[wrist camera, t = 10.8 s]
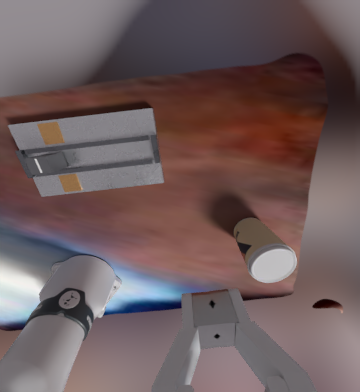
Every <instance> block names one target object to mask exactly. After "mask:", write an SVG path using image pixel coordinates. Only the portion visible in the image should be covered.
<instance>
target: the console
mask: <svg viewBox="0 0 360 392" xmlns="http://www.w3.org/2000/svg"><path fill="white" fill-rule="evenodd" d="M8 127H9V129H10V131H11V133H12V135H13V138H14V140H15V142H16V144H17V146H18V148H19V150H18V151H15V152H16V154H17V156H18V158H19V160H20V162H21V164H22V167H23V169H24V171H25V173H26V175H27V177H28V178H33V179H34V182H35V184H36V186H37V188H38V190H39V192H40V194H41V196H42V197H43V196H52V195H61V194H70V193H78V192H87V191H96V190H105V189H113V188H122V187H131V186H140V185H148V184H157V183H164V174H163V168H162V161H161V155H160V148H159V141H158V135H157V128H156V122H155V115H154V109H153V108H147V109H139V110H130V111H122V112H114V113H105V114H97V115H88V116H80V117H72V118H63V119H55V120H46V121H38V122H29V123H21V124H13V125H8ZM60 152H62V153H63V156H64V158H65V161H66V164H67V166H68V167H66V168H63V169H61V170H58V171H56V172H53V173H46V174H37V175H32V174H31V172H30V170H29V168H28V166H27V163H26V161H25V158H30V157H34V156H39V155H43V154H51V153H60Z"/></svg>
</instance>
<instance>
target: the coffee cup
mask: <svg viewBox="0 0 360 392" xmlns="http://www.w3.org/2000/svg"><path fill="white" fill-rule="evenodd" d="M234 237H235V239H236V242H237V244H238V246H239V249H240V251H241V254H242V256H243V258H244V260H245V263H246V265H247V268H248V271H249V273H250V275H251V276H252V277H254V278H255V279H256V280H258V281H260V282H264V283H273V282H277V281H280V280H282V279H284V278H286V277H288V276H289V275H290V274H291V273H292V272H293V271H294V269H295V267H296V264H297V258H296V255H295V252H294V251H293V250H292V249H291V248H290V247H289V246H287V245H286V244H285V243H284V242H283V241H282V240H281V239H280V238H279V237H278V236H277V235H275V234H274V233H273V232H272V231H271V230H270V229H269V228H268V227H267V226H266V225H265V224H263V223H262V222H261V221H260V220H258V219H256V218H245V219H243V220H241V221H240V222H238V223H237V225H236V226H235V228H234Z"/></svg>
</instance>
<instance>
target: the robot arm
mask: <svg viewBox="0 0 360 392" xmlns="http://www.w3.org/2000/svg"><path fill="white" fill-rule="evenodd" d="M51 272H52V276H51V278H50V279H49V280H48V282H47V283H46V285H45V286H44V287H43V289H42V290H41V292H40V294H39V296H40V301H41V303H40V304H39V305H38V306H37V308H36V309H34V311H33V312H32V313H31V315H30V317H29V319H28V320H27V322H26V326H25V328H24V329H23V331H22V332H21V333H20V335H19V336H18V337H17V339H16V340H15V341H14V343H13V344H12V346H11V347H10V348H9V350H8V351H7V352H6V354H5V355H4V356H3V358H2V359H1V361H0V392H64V388H65V385H66V382H67V379H68V377H69V374H70V371H71V369H72V366H73V363H74V360H75V358H76V356H77V353H78V351H79V348H80V346H81V343H82V341H84V339H85V338H86V337H87V334H88V333H89V331H90V329H91V325H92V323H93V320H94V319H95V318H96V317H99V318H101V317H102V316H103V314H104V312H105V309H106V304H107V303H108V302H109V301H110V299H111V298H112V297H113V295H114V294H115V293H116V292H117V290H118V289H119V288H120V286H121V284H122V281H121V280H120V279H119V278H118V277H116V275H115V273H114V271H113V269H112V268H111V267H110V266H109V265H108V264H107V263H106V262H104V261H103V260H101V259H99V258H96V257H93V256H87V255H79V256H74V257H71V258H69V259H68V260H66V261H64V262H59V263H55V264H53V266H52V267H51ZM182 321H183V329H180V330H179V332H178V334H177V336H176V338H175V340H174V342H173V344H172V346H171V348H170V351H169V353H168V355H167V357H166V359H165V361H164V363H163V365H162V367H161V369H160V371H159V373H158V375H157V377H156V379H155V382H154V384H153V386H152V392H194V389H193V388H192V386H190V383H191V380H192V376H193V373H194V370H195V367H196V364H197V360H198V357H199V354H200V349H207V348H214V347H227V346H235V348H236V349H237V350H238V352H239V353H240V354H241V356H242V357H243V359H244V360H245V361H246V363H247V364H248V365H249V367H250V368H251V369H252V371H253V372H254V373H255V375H256V376H257V377H258V379H259V380H260V381H261V383H262V384H263V385H264V387H265V392H317V391H316V389H315V387H314V385H313V383H312V381H311V379H310V377H309V375H308V374H307V372H306V371H305V370H304V369H303V368H302V367H301V366H300V365H299V364H298V363H297V362H296V361H295V360H293V359H292V358H291V357H290V356H289V355H288V354H287V353H286V352H285V351H284V350H283V349H282V348H281V347H280V346H279V345H278V344H277V343H276V342H275V341H274V340H273V339H271V338H270V336H268V335H267V334H266V333H265V332H264V331H263V330H262V329H261V328H260V327H259V326H258V325H257V324H256V323H255V322H251V321H250V318H249V316H248V313H247V311H246V308H245V305H244V303H243V300H242V298H241V295H240V293H239V290H238V289H237V288H234V289H223V290H215V291H209V292H198V293H187V294H182Z"/></svg>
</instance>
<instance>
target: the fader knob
mask: <svg viewBox="0 0 360 392" xmlns="http://www.w3.org/2000/svg"><path fill="white" fill-rule="evenodd" d="M25 161H26V163H27V166H28V168H29V170H30V172H31V174H32V175H37V174H46V173H53V172H56V171H58V170H61V169H63V168H66V167H68V166H67V164H66V161H65V158H64V156H63V153H62V152H60V153H51V154H43V155H39V156H34V157H30V158H25Z"/></svg>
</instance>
